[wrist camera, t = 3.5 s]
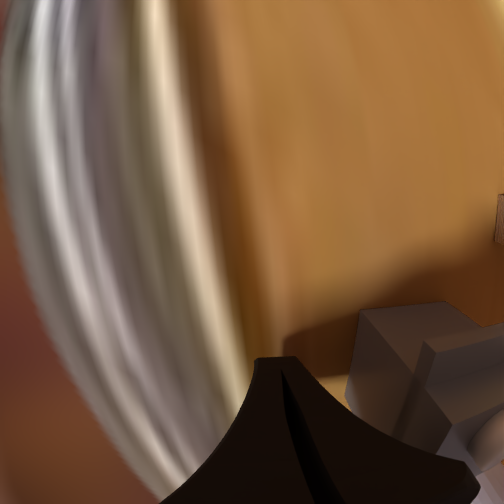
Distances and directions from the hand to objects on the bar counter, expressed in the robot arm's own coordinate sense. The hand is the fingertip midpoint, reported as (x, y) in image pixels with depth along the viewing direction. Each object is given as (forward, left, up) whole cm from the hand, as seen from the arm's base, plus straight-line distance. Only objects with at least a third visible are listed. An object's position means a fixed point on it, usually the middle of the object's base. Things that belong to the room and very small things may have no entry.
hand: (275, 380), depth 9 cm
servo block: (0, -5, -1) cm, 5 cm away
